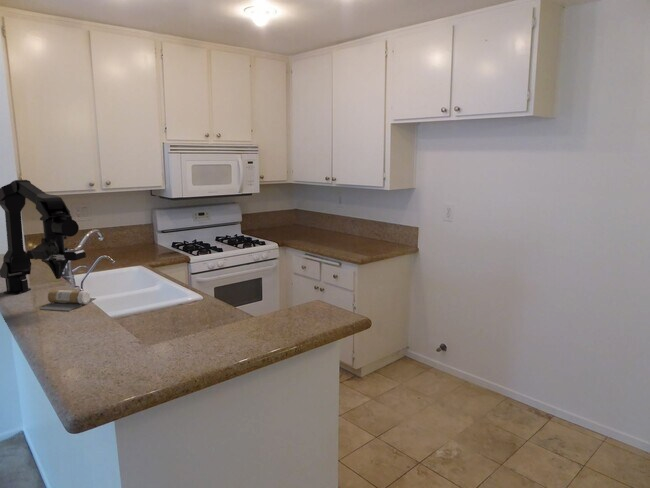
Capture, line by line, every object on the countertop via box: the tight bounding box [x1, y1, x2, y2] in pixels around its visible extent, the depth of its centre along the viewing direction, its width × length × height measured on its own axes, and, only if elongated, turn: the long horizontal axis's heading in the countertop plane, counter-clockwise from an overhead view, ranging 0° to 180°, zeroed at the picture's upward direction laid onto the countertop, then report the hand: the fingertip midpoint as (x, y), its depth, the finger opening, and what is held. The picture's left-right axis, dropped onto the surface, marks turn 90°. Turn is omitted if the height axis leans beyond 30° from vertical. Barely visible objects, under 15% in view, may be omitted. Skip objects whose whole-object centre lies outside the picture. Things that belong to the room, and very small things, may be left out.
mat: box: [39, 297, 97, 312], centre depth 162 cm, size 11×14×1 cm
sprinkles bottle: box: [47, 289, 91, 305], centre depth 162 cm, size 5×5×14 cm
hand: (58, 278), depth 160 cm, fingers closed
